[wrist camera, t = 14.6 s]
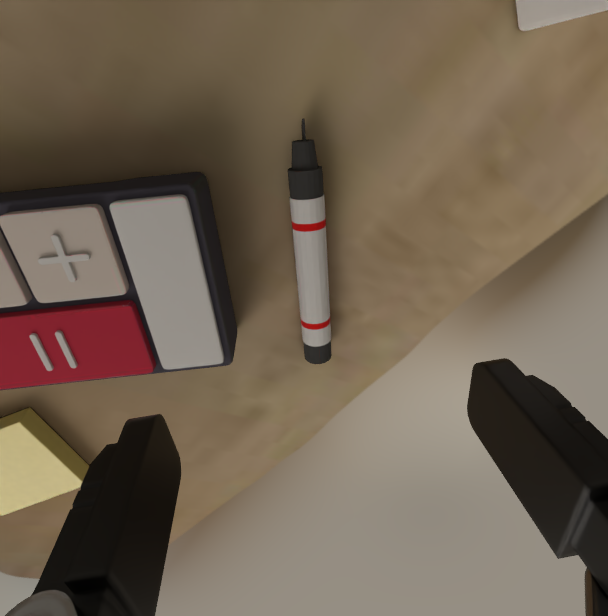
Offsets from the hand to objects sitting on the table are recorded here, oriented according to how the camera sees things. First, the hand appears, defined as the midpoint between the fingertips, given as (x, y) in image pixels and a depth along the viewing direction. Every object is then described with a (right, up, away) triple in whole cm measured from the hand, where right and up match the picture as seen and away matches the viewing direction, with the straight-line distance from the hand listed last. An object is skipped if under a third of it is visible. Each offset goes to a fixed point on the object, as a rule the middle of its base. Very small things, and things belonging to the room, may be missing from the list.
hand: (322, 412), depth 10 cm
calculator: (-13, +5, +14) cm, 20 cm away
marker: (0, +6, +15) cm, 16 cm away
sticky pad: (-23, -9, +20) cm, 31 cm away
